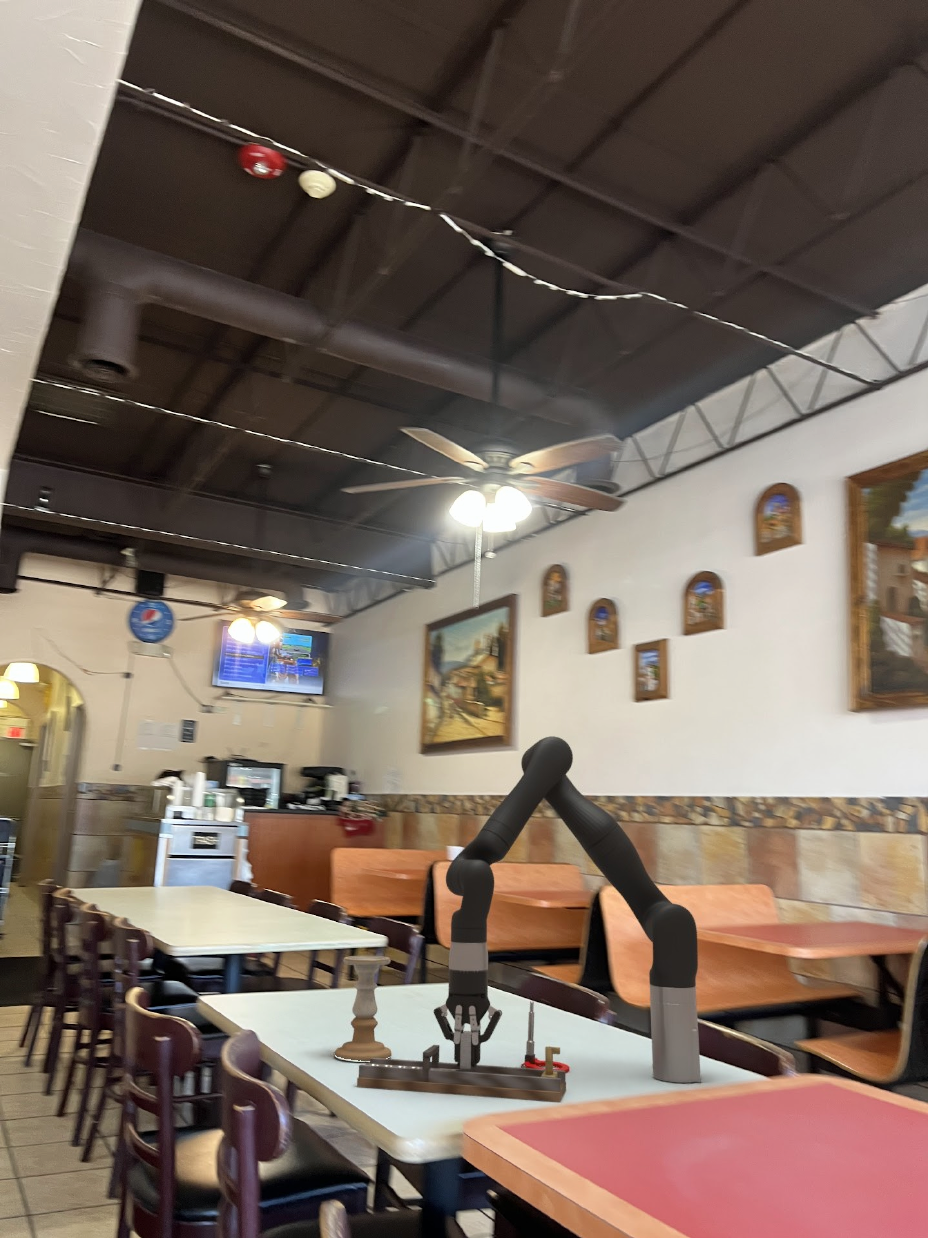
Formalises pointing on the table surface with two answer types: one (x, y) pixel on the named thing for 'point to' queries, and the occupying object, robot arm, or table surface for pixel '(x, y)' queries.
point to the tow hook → (530, 1056)
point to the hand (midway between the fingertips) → (467, 1065)
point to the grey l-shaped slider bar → (464, 1055)
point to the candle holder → (364, 1012)
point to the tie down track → (466, 1078)
